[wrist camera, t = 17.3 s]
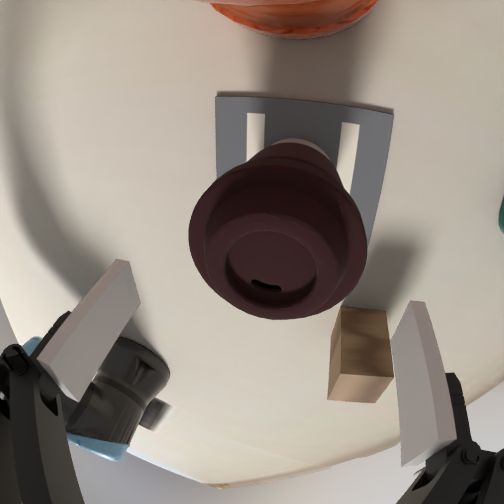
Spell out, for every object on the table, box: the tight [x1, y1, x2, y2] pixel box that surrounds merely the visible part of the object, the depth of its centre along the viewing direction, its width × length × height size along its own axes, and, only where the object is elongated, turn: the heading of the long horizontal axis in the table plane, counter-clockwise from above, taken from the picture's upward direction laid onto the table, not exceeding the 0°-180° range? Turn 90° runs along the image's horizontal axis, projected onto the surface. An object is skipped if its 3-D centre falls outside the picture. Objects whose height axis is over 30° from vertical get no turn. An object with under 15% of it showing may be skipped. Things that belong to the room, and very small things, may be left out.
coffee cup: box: [189, 138, 367, 320], centre depth 20 cm, size 10×10×15 cm
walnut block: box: [327, 306, 394, 403], centre depth 32 cm, size 6×6×10 cm
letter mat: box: [215, 97, 394, 248], centre depth 27 cm, size 16×14×1 cm
